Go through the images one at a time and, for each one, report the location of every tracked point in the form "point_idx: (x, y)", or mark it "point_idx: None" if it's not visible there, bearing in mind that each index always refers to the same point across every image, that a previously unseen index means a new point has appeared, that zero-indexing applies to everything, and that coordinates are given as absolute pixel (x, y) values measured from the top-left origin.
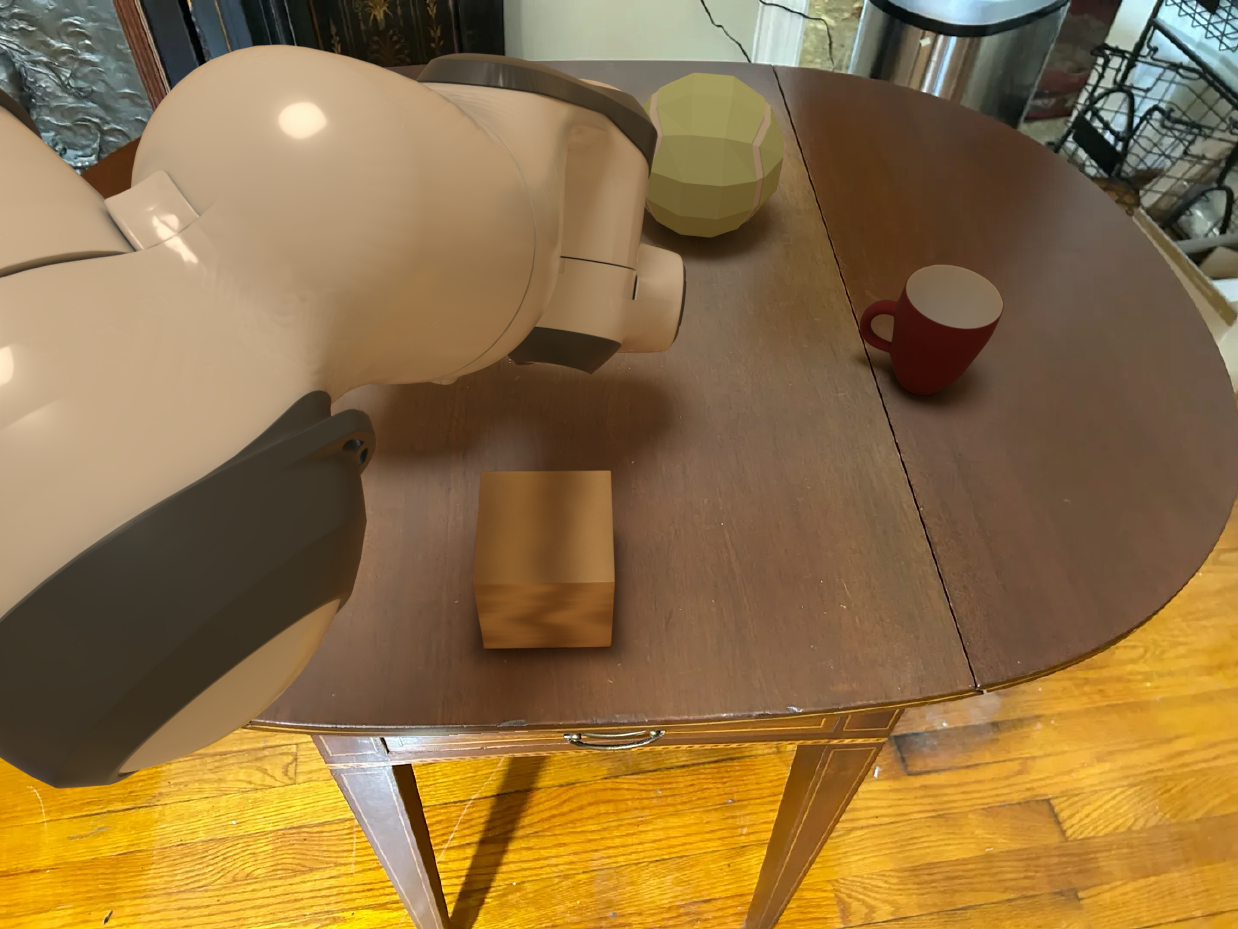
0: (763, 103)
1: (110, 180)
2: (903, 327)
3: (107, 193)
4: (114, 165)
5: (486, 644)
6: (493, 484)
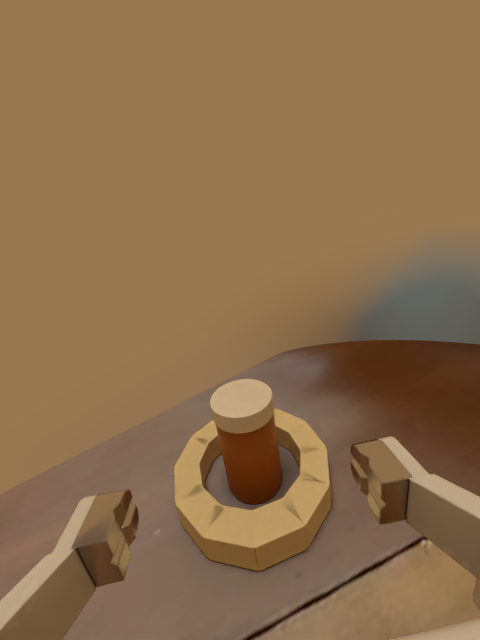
0: None
1: (360, 345)
2: None
3: (350, 349)
4: (370, 341)
5: None
6: None
